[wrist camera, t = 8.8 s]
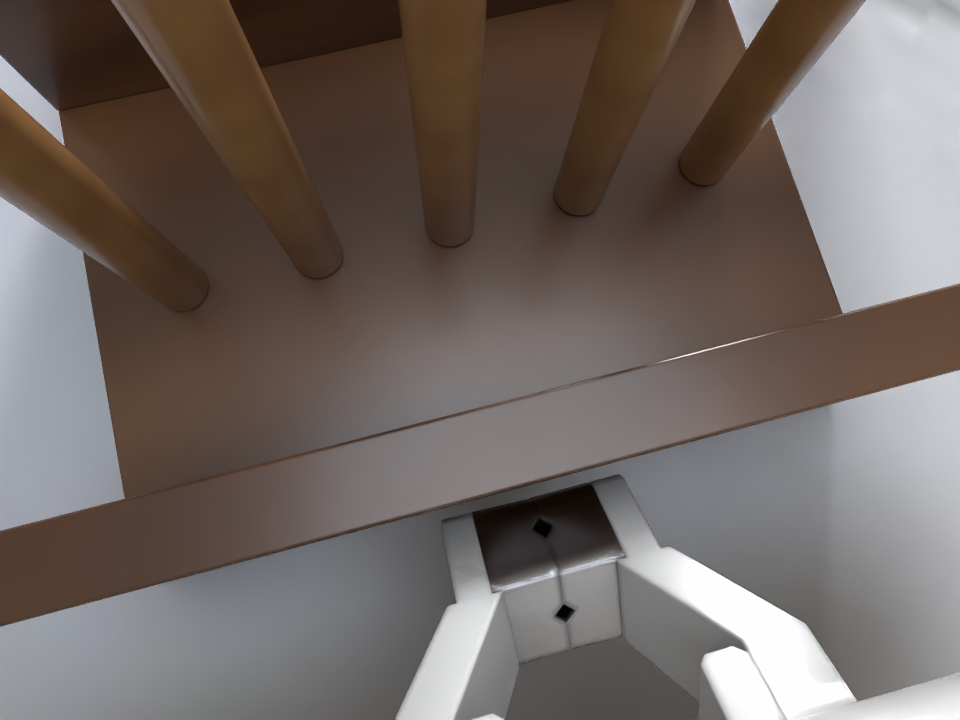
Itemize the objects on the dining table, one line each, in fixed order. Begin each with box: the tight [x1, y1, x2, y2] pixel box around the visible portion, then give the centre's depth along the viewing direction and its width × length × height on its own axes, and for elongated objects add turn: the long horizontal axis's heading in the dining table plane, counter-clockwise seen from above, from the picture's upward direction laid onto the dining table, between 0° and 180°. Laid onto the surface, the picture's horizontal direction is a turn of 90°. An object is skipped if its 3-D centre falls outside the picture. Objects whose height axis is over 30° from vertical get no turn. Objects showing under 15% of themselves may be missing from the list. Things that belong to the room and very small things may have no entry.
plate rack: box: [0, 0, 960, 626], centre depth 12 cm, size 12×16×12 cm
